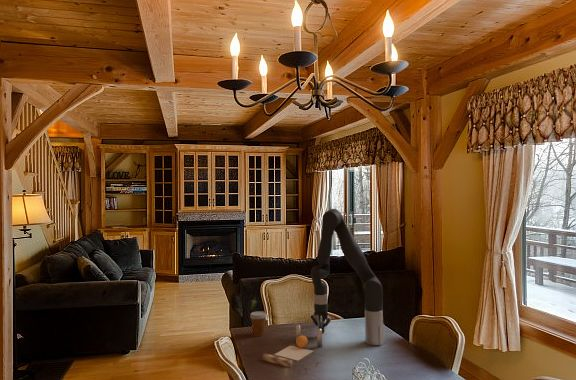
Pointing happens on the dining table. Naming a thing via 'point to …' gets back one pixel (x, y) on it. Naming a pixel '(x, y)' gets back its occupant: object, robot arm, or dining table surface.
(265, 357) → the stopper wall
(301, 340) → the ball
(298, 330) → the far post
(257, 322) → the disposable coffee cup
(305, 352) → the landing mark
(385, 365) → the dining table surface
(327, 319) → the robot arm
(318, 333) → the near post
